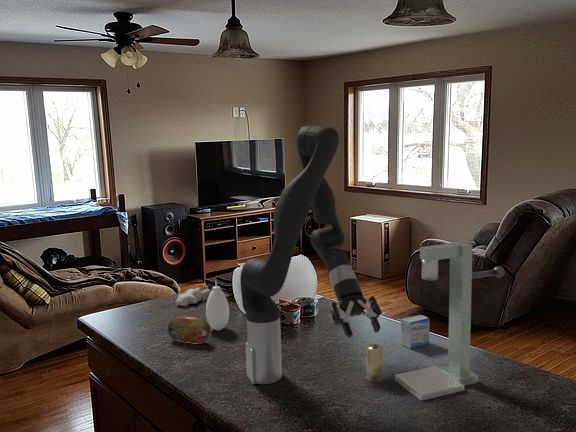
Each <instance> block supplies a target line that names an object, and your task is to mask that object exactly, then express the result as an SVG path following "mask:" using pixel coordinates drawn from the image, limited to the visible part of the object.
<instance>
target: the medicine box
mask: <svg viewBox="0 0 576 432" xmlns="http://www.w3.org/2000/svg"><path fill="white" fill-rule="evenodd" d="M429 344H430V318H429V317H427V316H425V315H424V314H423V315H422V314H417V315H413V316H409V317H404V318H401V319H400V345H401V346H403V347H404V348H406V349H409V350H413V349H417V348H420V347H424V346H427V345H429Z"/></svg>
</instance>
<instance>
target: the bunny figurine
mask: <svg viewBox="0 0 576 432" xmlns="http://www.w3.org/2000/svg"><path fill="white" fill-rule="evenodd" d="M210 293H211V289H210V288H209V289H208V288H207V289H205V290H202V291H201V287H196V288H189V289H187V290H186V291H185V292H184V293H179V294H178V295H177V299H176V300H175V305H176V306H177V305H178V306H182V307H188V306H187V305H189V304H190V305H191V304H197V303H199V302H200V301H202V297H203V295H207V294H210ZM198 301H199V302H198ZM190 305H189V306H190Z"/></svg>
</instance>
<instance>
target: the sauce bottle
mask: <svg viewBox="0 0 576 432" xmlns="http://www.w3.org/2000/svg"><path fill="white" fill-rule="evenodd" d="M214 281H215V286H212V290H210V292H211V293H209V295H208V297H207V301H206V306H205V316H206V322H207V323H208V324H209V326H210V328H212V329H213V330H215V331H221V330H223V329H224V328H225V327H226V326H227V324H228V322H229V320H230V307H229V302H228V299H227V297H226V294H225V293H224V291H222V289H221V286H218V284H217V283H218V282H217V280H214Z"/></svg>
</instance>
